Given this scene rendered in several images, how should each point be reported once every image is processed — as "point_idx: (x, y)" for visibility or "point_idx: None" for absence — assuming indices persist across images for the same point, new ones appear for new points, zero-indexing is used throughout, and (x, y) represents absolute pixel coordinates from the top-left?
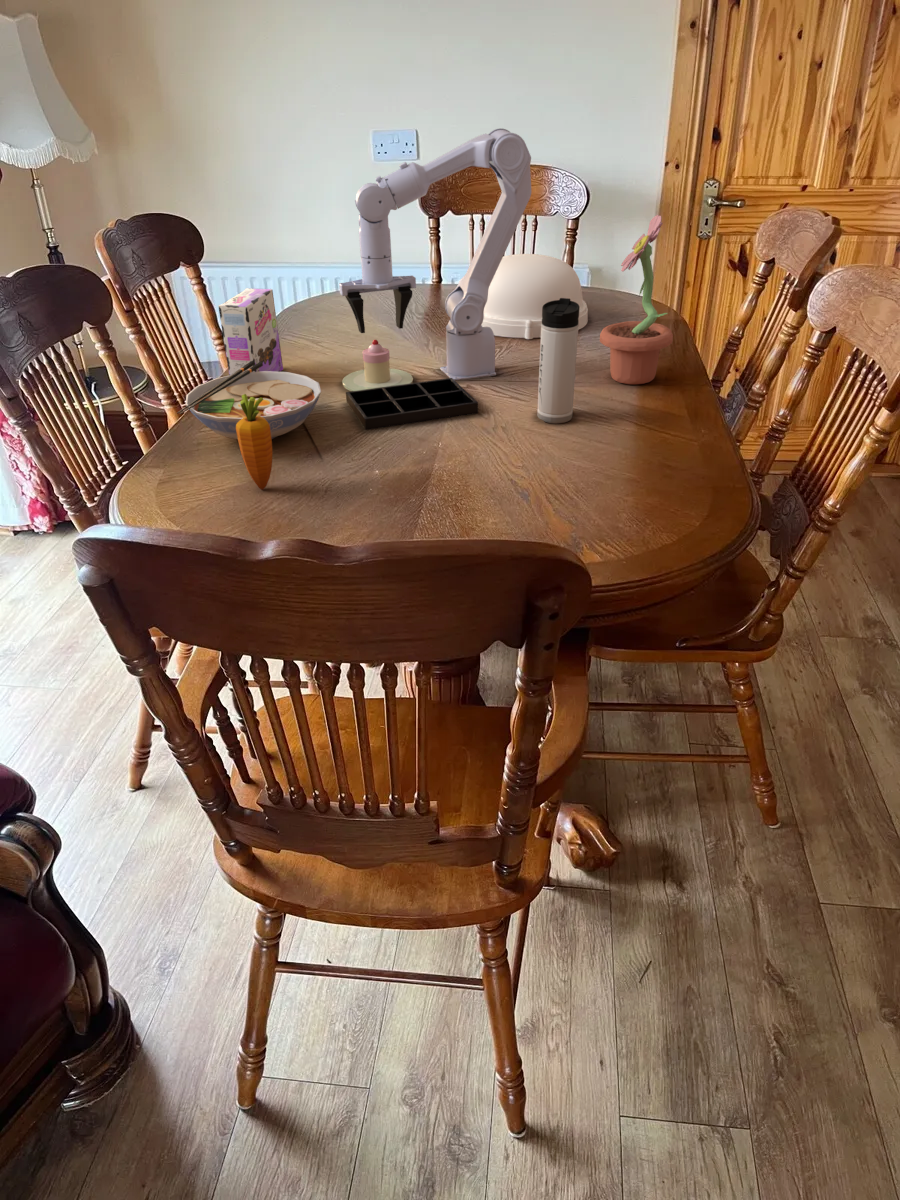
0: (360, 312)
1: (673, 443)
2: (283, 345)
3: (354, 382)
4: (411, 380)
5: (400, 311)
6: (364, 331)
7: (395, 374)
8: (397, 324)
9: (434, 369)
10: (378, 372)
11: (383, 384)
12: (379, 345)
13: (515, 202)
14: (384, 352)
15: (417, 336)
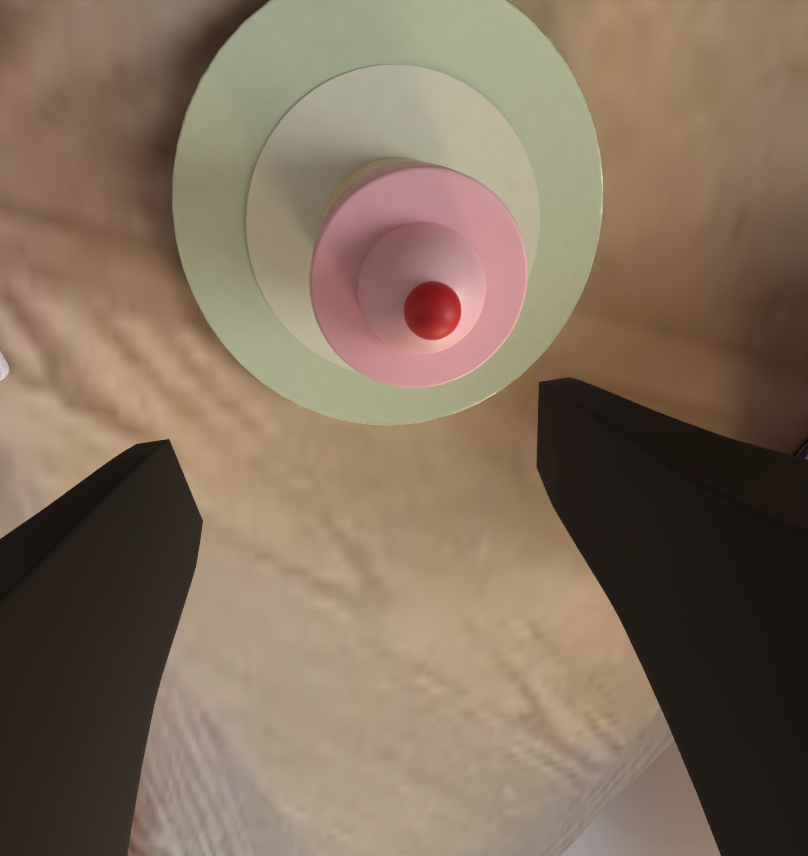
0: (730, 463)
1: None
2: (638, 705)
3: (538, 221)
4: (180, 159)
5: (59, 549)
6: (548, 383)
7: (281, 299)
8: (185, 508)
9: (53, 389)
10: (409, 161)
11: (376, 125)
12: (397, 278)
13: None
14: (356, 230)
15: (165, 742)
